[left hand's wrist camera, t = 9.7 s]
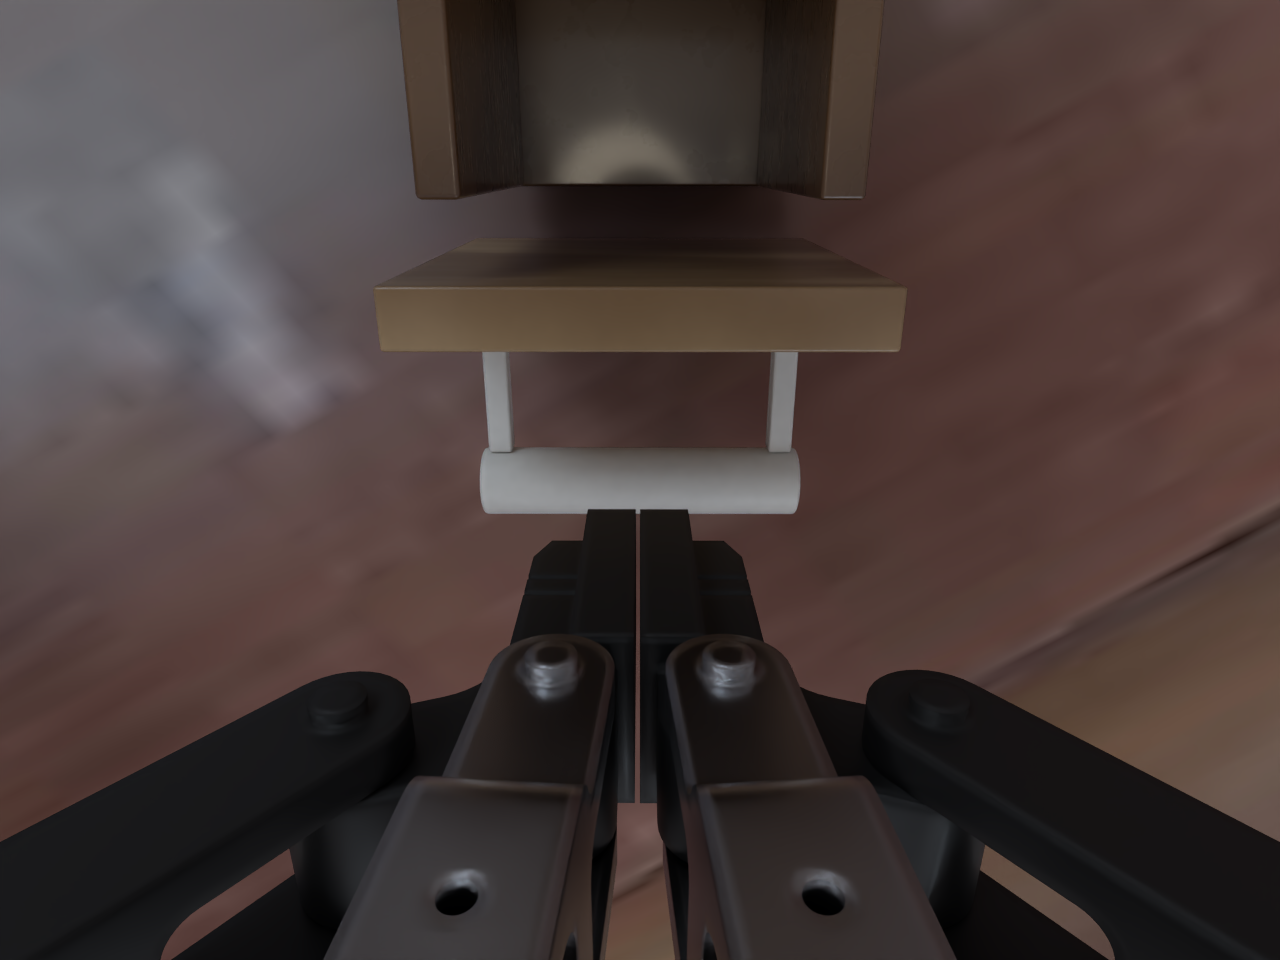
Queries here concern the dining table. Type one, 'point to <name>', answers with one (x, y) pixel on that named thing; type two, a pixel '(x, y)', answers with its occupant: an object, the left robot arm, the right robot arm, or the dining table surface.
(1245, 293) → the dining table surface
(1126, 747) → the dining table surface
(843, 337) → the drawer
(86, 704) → the dining table surface
